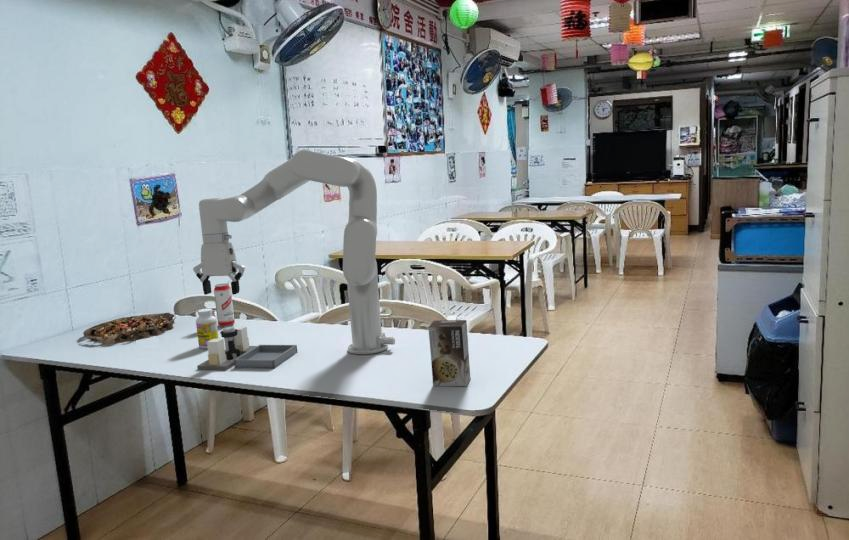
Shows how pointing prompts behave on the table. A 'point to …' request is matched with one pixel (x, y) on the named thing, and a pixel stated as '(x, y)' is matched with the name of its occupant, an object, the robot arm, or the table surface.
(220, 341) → the block
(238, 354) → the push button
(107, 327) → the food dish
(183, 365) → the table surface
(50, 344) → the table surface
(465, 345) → the printed cardboard box
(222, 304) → the beer can
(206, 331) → the supplement bottle
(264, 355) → the tray
